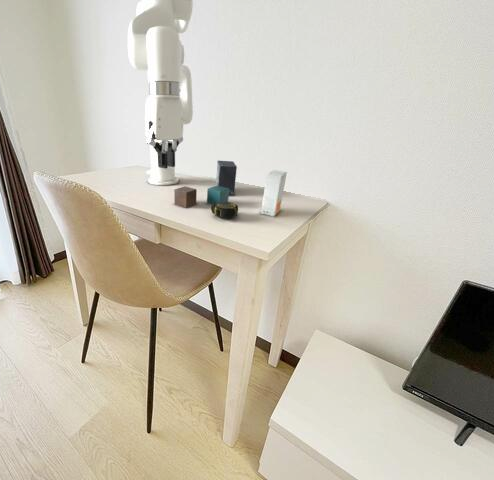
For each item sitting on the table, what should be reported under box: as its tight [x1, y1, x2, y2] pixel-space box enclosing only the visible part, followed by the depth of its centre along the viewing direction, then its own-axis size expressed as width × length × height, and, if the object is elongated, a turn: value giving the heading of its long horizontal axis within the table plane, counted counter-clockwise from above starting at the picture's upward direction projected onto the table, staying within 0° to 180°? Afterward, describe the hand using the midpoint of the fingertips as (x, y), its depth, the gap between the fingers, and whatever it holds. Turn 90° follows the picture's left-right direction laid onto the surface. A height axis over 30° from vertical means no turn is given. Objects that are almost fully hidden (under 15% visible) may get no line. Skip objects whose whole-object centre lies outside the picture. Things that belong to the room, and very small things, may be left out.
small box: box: [215, 160, 238, 196], centre depth 95 cm, size 11×6×10 cm, turn 179°
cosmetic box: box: [260, 169, 288, 217], centre depth 76 cm, size 6×4×12 cm
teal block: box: [206, 185, 230, 206], centre depth 84 cm, size 5×5×5 cm
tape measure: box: [210, 201, 239, 220], centre depth 73 cm, size 7×7×4 cm
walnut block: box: [173, 185, 198, 209], centre depth 82 cm, size 5×5×5 cm
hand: (166, 166), depth 72 cm, fingers closed
